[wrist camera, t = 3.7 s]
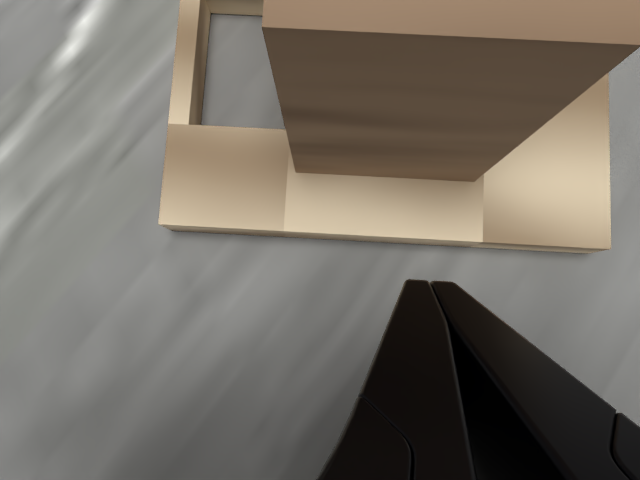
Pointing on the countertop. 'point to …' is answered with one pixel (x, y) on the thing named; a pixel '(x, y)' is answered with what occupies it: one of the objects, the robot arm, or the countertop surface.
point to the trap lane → (379, 192)
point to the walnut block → (433, 78)
